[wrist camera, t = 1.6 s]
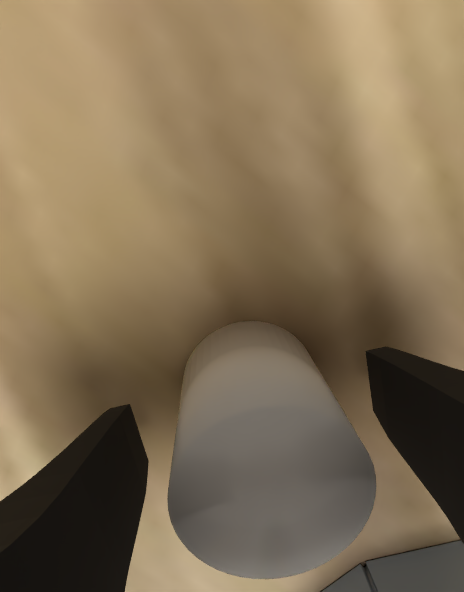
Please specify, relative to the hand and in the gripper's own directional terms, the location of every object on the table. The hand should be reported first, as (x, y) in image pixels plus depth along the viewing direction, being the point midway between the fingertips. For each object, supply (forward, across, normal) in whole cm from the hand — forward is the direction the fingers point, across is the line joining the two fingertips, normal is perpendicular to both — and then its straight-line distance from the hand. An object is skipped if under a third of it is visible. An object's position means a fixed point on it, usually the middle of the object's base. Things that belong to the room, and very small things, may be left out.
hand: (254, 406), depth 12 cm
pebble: (+2, 0, 0) cm, 2 cm away
